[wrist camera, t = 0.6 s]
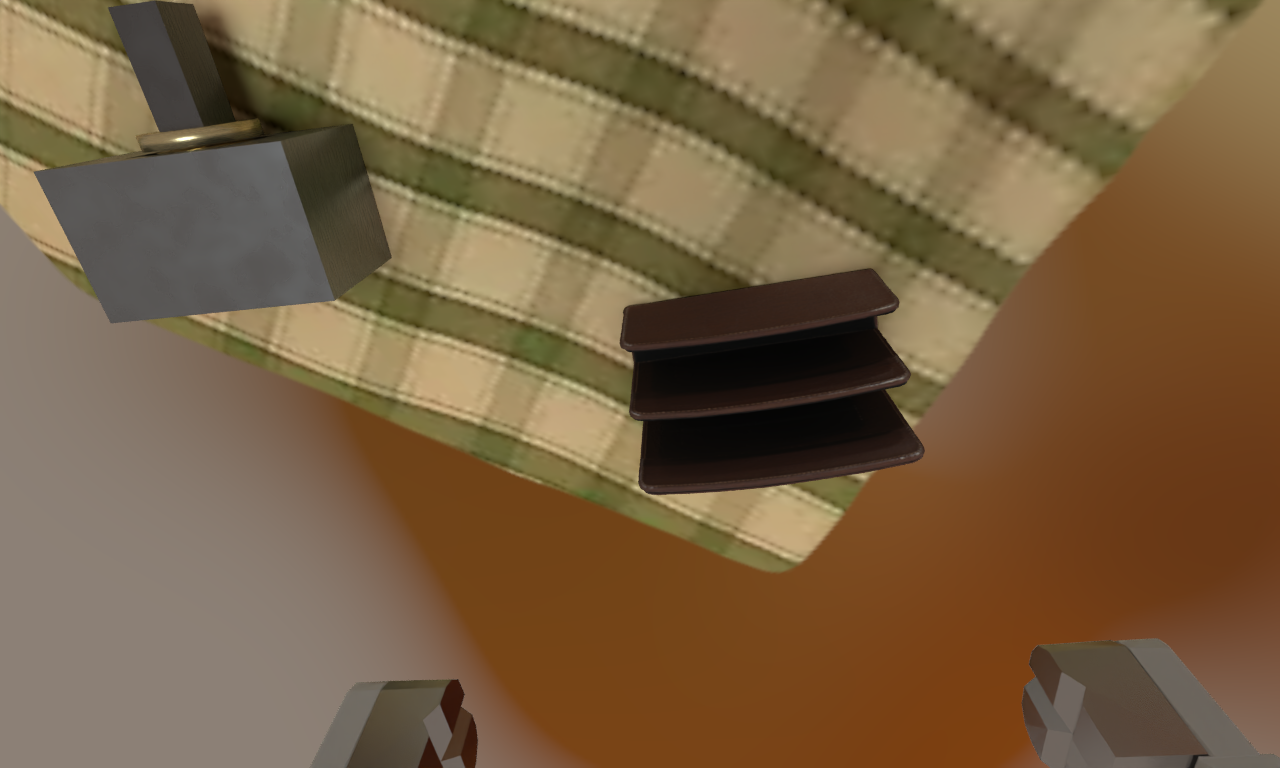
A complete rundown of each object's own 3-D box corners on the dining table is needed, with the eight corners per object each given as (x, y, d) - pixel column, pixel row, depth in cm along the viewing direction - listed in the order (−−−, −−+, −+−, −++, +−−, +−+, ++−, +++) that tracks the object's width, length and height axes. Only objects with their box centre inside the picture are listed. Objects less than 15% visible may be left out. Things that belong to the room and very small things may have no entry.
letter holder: (875, 378, 56) (935, 474, 43) (644, 410, 58) (638, 510, 46) (872, 265, 51) (938, 335, 39) (623, 304, 54) (609, 383, 41)
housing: (148, 149, 49) (33, 171, 40) (352, 123, 48) (280, 141, 39) (203, 277, 54) (110, 323, 45) (391, 257, 52) (334, 300, 43)
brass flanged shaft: (139, 16, 44) (49, 10, 38) (241, 1, 43) (166, -7, 37) (229, 240, 51) (165, 268, 44) (318, 230, 50) (266, 257, 44)
